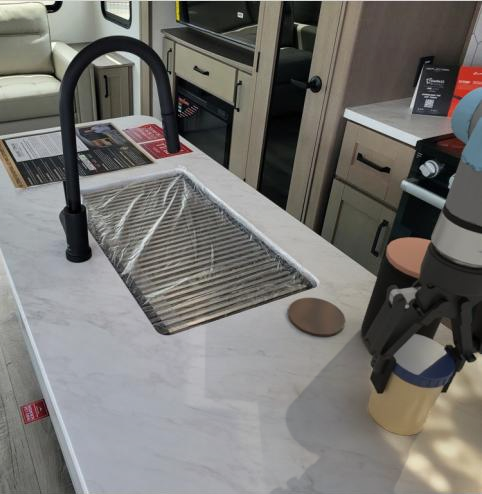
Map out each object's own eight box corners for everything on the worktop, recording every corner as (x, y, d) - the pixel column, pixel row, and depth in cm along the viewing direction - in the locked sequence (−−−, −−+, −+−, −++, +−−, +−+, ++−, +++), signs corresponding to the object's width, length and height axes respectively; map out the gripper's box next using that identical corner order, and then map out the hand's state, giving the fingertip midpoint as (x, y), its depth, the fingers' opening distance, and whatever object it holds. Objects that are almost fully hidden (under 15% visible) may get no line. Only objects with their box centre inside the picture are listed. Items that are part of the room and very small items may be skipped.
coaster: (338, 301, 91) (338, 299, 90) (350, 338, 82) (351, 336, 82) (284, 298, 92) (285, 295, 91) (291, 334, 83) (292, 332, 83)
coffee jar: (420, 326, 85) (455, 242, 75) (432, 370, 76) (473, 282, 66) (357, 316, 87) (382, 233, 77) (362, 357, 79) (391, 270, 69)
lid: (374, 342, 67) (377, 333, 66) (431, 341, 67) (435, 332, 66) (400, 388, 61) (404, 379, 60) (463, 387, 61) (468, 378, 60)
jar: (413, 394, 73) (438, 339, 66) (432, 437, 66) (461, 382, 60) (362, 390, 73) (381, 335, 67) (376, 433, 67) (398, 377, 61)
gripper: (389, 271, 51) (342, 408, 63) (582, 269, 51) (497, 406, 63) (362, 234, 57) (324, 366, 69) (534, 232, 57) (466, 364, 70)
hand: (407, 385), depth 66 cm, fingers closed on lid, 8 cm apart
